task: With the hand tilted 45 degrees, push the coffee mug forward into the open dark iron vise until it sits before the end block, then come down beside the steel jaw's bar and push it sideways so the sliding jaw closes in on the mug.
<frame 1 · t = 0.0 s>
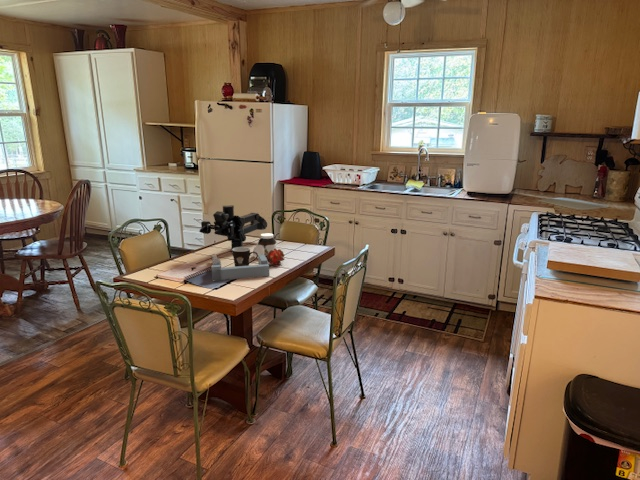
hand: (207, 232, 224), 17 cm above the table, tool horizontal, fingers open, 9 cm apart
dragon fruit: (275, 264, 227), on the table
coffee mug: (244, 269, 220), on the table
sliding jaw: (215, 262, 218), point 3 cm above the table, slide at 0.0 cm
vise: (245, 271, 215), on the table
spread jar: (265, 256, 241), on the table
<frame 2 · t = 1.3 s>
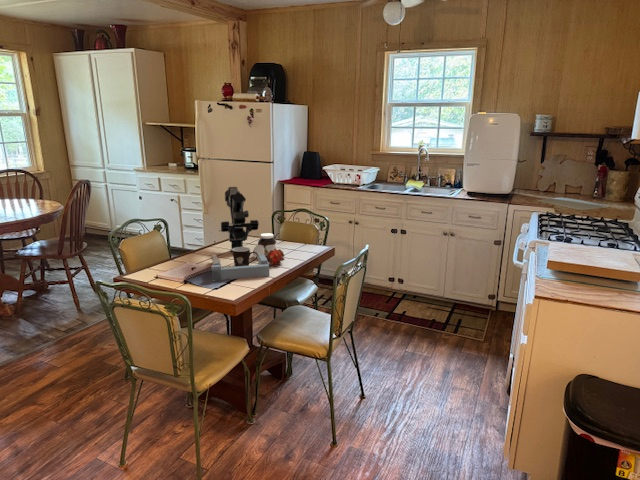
hand: (241, 239, 224), 13 cm above the table, tool tilted 45°, fingers open, 5 cm apart
nothing on the table moved.
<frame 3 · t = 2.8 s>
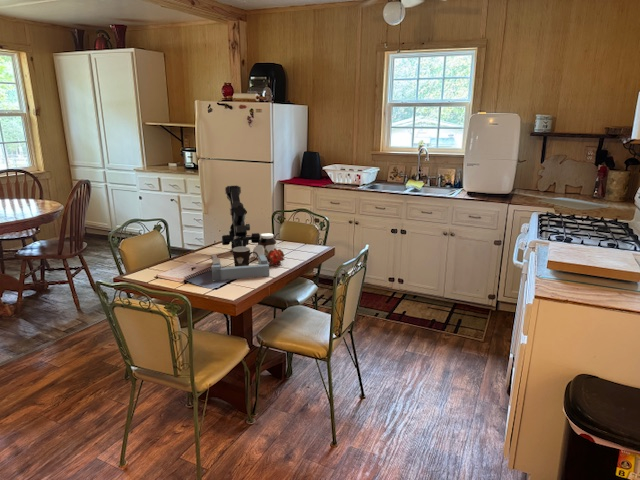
hand: (242, 253, 222), 7 cm above the table, tool tilted 45°, fingers closed
nothing on the table moved.
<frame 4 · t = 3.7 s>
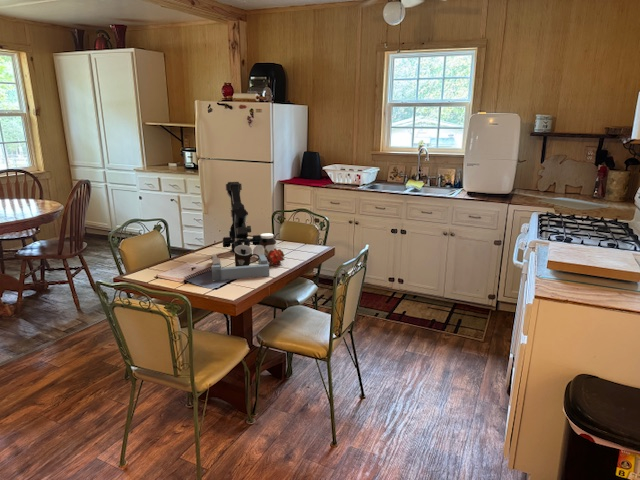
hand: (243, 255, 218), 7 cm above the table, tool tilted 45°, fingers closed
coffee mug: (244, 268, 219), on the table, touching gripper
everything else where it was.
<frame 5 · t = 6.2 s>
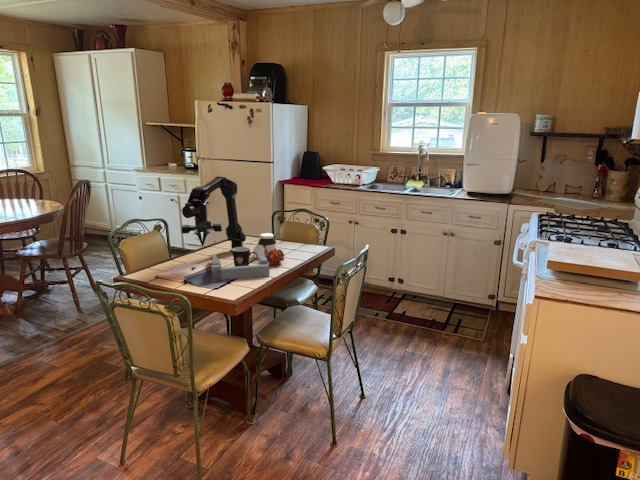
hand: (202, 245, 220), 11 cm above the table, tool pointing down, fingers closed
coffee mug: (244, 269, 219), on the table
everything else where it was.
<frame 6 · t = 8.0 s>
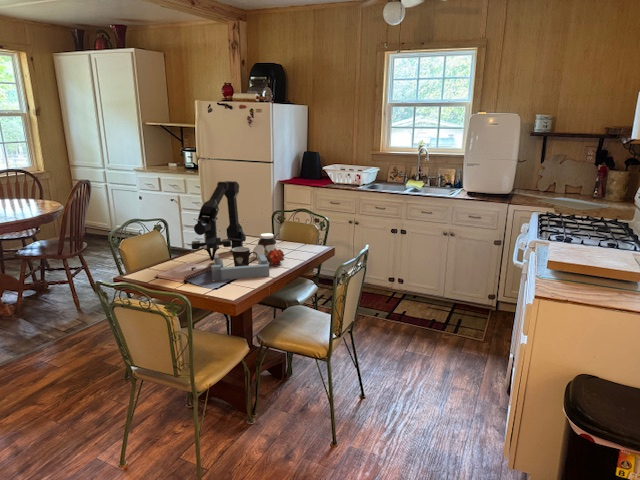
hand: (212, 260, 223), 3 cm above the table, tool pointing down, fingers closed
sliding jaw: (217, 262, 219), point 3 cm above the table, slide at 0.9 cm, touching gripper
everything else where it was.
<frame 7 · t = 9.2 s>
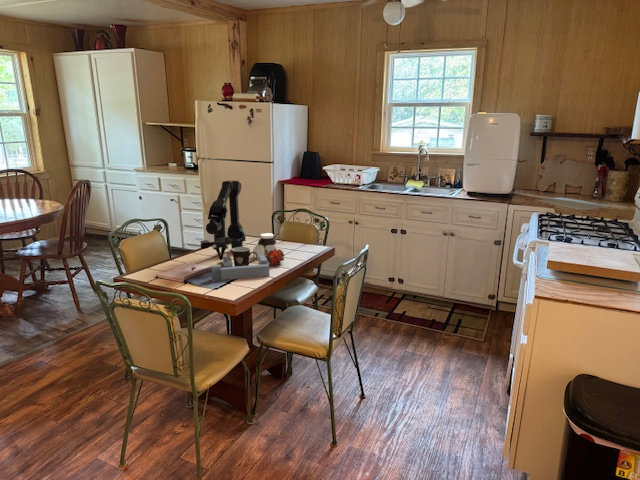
hand: (221, 260, 224), 3 cm above the table, tool pointing down, fingers closed
sliding jaw: (226, 261, 220), point 3 cm above the table, slide at 5.1 cm, touching gripper
everything else where it was.
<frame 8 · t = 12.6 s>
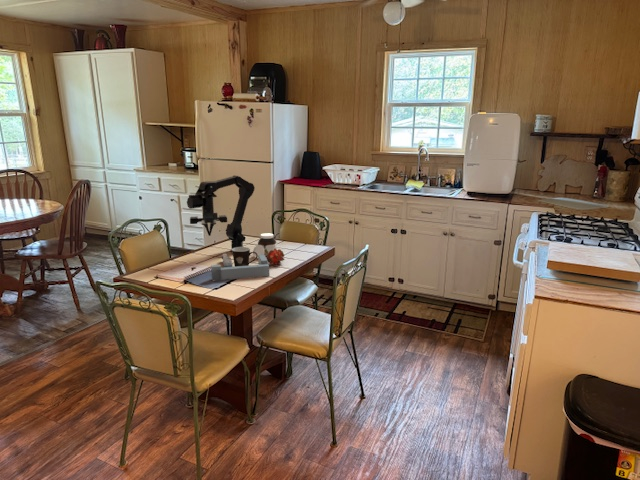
hand: (209, 235, 235), 12 cm above the table, tool pointing down, fingers closed
sliding jaw: (226, 261, 220), point 3 cm above the table, slide at 5.1 cm
everything else where it was.
at the end: coffee mug 4.4 cm from the vise (horizontally); sliding jaw slide at 5.1 cm; coffee mug tilted 0° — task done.
